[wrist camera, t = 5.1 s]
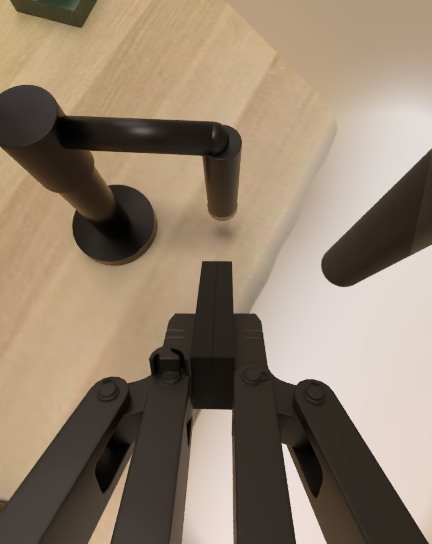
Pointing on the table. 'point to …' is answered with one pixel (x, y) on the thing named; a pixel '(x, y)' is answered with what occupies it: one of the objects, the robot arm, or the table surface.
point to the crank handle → (112, 144)
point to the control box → (57, 9)
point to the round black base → (111, 221)
